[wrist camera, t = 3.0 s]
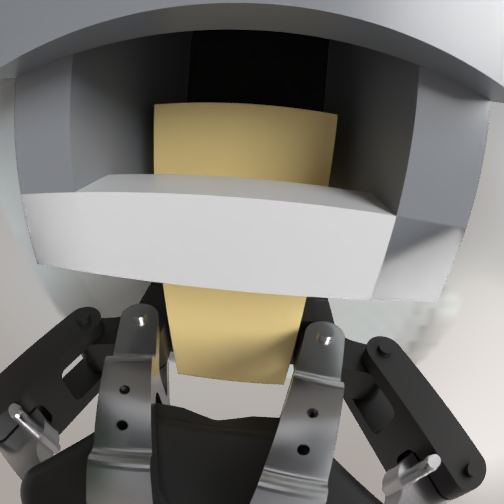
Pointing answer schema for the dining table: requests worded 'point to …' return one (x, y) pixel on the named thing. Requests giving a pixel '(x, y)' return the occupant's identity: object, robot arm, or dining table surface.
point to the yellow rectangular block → (243, 166)
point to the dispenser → (247, 189)
